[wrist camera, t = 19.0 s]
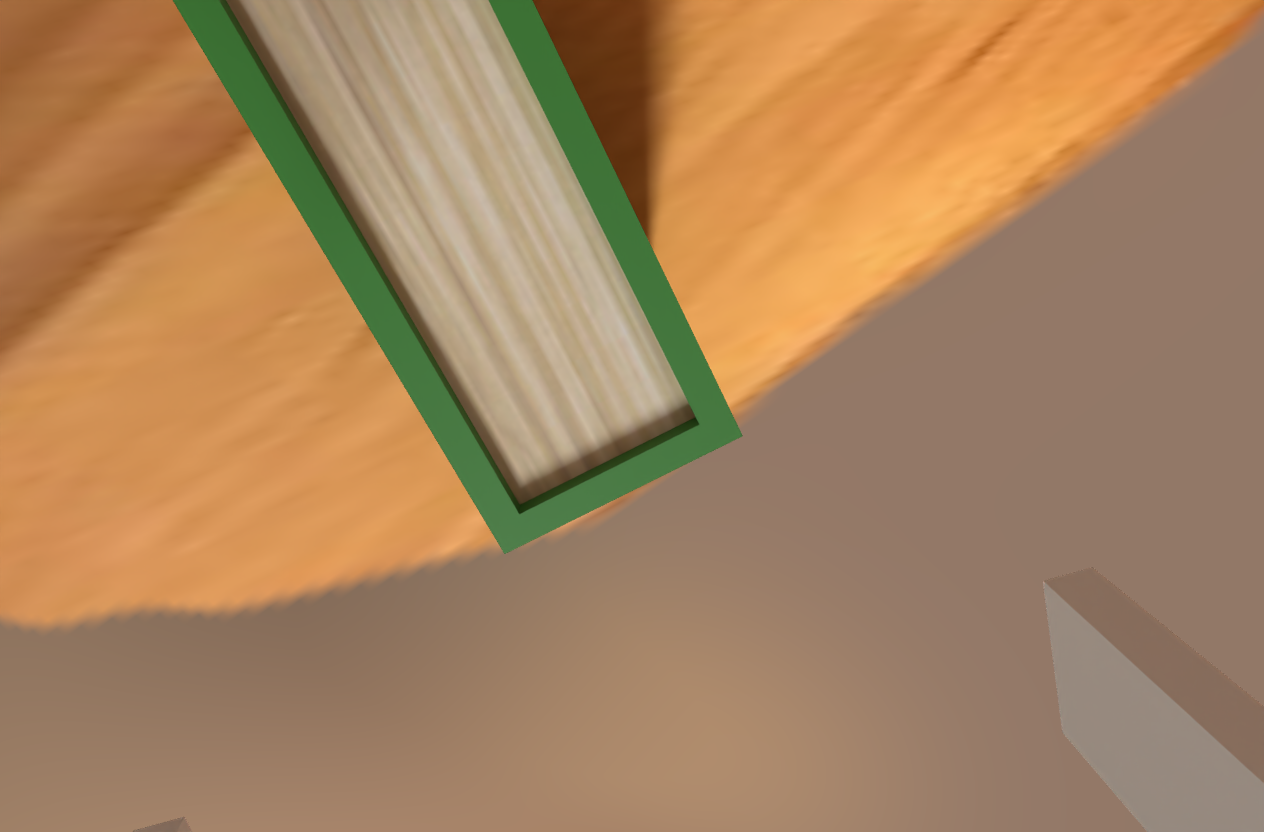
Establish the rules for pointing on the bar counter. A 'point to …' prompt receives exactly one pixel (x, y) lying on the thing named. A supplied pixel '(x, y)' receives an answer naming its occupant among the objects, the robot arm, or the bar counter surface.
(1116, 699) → the robot arm
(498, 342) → the hardback book
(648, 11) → the bar counter surface
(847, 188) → the bar counter surface
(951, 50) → the bar counter surface
